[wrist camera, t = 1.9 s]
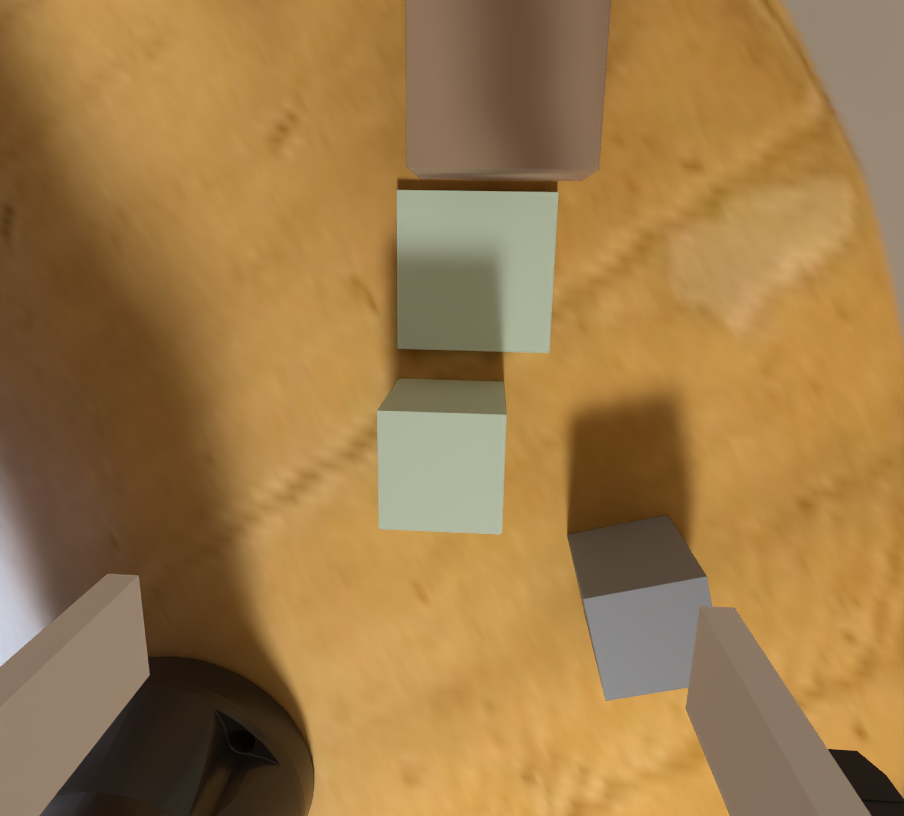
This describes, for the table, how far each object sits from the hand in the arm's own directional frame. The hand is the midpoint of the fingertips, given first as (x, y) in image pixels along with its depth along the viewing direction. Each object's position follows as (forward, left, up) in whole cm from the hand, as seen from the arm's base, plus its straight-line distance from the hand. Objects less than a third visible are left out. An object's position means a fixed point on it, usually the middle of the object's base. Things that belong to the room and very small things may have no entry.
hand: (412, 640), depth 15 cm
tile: (+1, +8, -17) cm, 18 cm away
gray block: (+9, -7, -17) cm, 20 cm away
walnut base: (+2, +15, -17) cm, 23 cm away
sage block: (0, 0, -17) cm, 17 cm away
